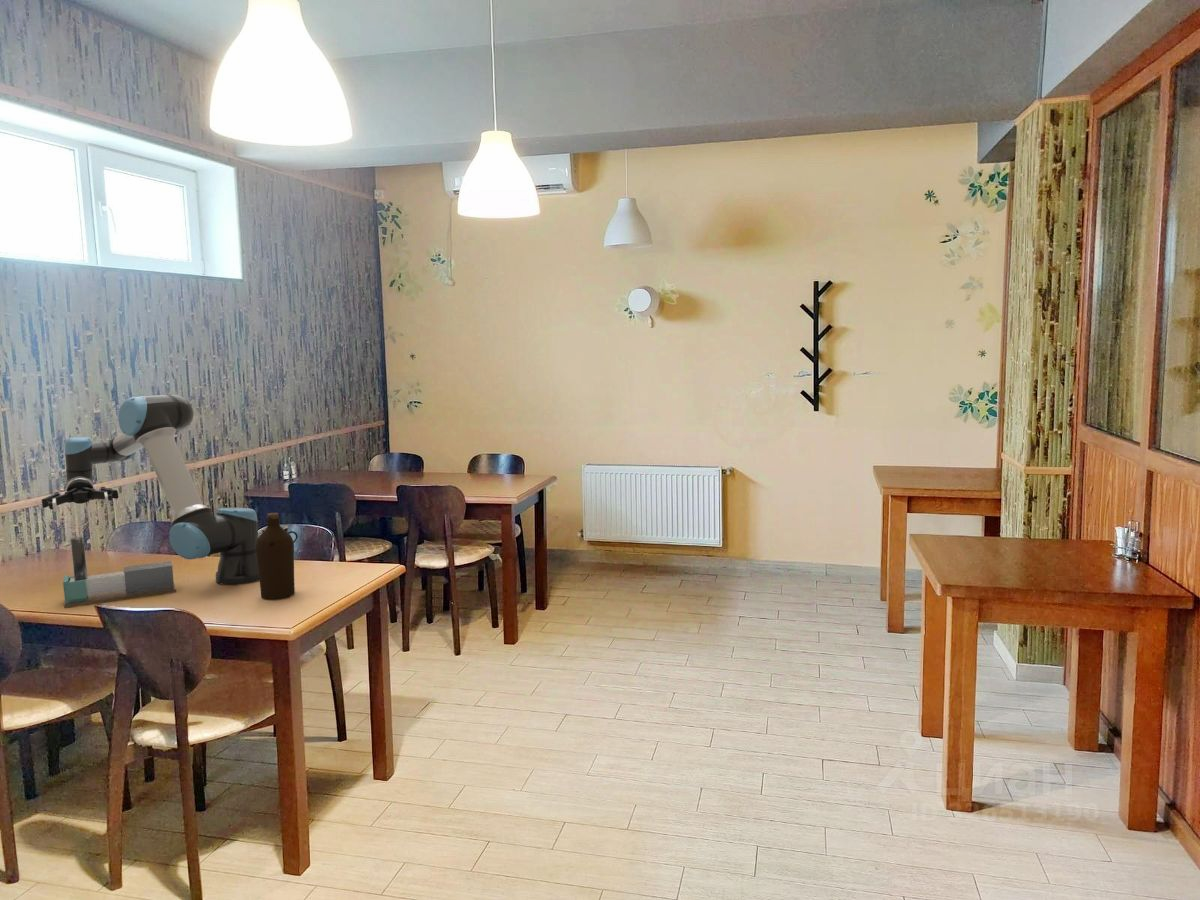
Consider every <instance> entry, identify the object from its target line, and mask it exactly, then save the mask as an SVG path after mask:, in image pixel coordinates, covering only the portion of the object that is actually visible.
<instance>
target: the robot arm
mask: <svg viewBox="0 0 1200 900" xmlns="http://www.w3.org/2000/svg"><path fill="white" fill-rule="evenodd" d="M194 415H195V414H194V409H193V406H192V404H191V403H190V402H189V401H188V400H187V398H185V397H183V396H181V395H178V394H161V395H160V394H159V395H158V394H157V395H156V394H155V395H138V396H132V397H128V398H126V399H125V400H124V401H123V402H122V403H121V405H120V407H119V410H118V415H117V422H118V426H119V429H120V431H121V432H122V433H120V434H118V435H117V436H115V437H113V438H111V439H108V440H102V441H101V440H100V441H97V440H96V441H92V439H91V438H90V437H87V436H76V437H75V436H74V437H69V438H67V439H66V440H65V441H64V442H65V443H64V456H65V466H66V469H65V478H66V481H65V482H66V484H65V485H66V486H65V487H66V491H64V493H61V492H59V491H56V492H54V493H53V494H51V495H48V496H47V497H45V498H42V499H41V504H42V505H41V507H42V508H43V509H45V508H47V507H48V508H49V510H53V512H54V513H55V512H58V506H60V505H63V504H66V503H69V504H70V503H74V504H78V505H79V504H80V505H81V504H82V505H83V504H86V503H88V502H89V501H93V500H104V501H105V505H106V506H109V505H110V504H109V502H110V501H112V500H113V499H119V497H120V496H119V492H118V489H113V488H107V487H105V486H100V487H99V488H98V489H95V487H94V475H93V473H94V472H93V471H94V470H93V465H98V464H99V465H100V464H104V463H113V462H124V461H128V460H131V459H133V458H134V457H135V454H136V453H137V452H138V451H140V450H141V449H144V451H145V452H146V455H147V457H148V459H149V462H150V463H151V466H152V469H153V470H154V472H155V475H156V477H157V479H158V483H159V484H160V487H161V489H162V490H163V493H164V495H165V498H166V500H167V502H168V505H169V507H170V509H171V512H172V514H173V518H172V520H171V525H172V526H171V527H170V530H169V532H168V533H169V543H170V545H171V548H172V549H173V551H174V552H175V553H176V554H177V555H178V556H179V557H181V558H184V559H186V560H195V559H203V558H206V557H208V556H212V555H215V554H219V561H218V566H217V571H216V572H215V582H216V583H217V584H221V585H225V586H226V585H228V586H229V585H233V586H234V585H244V584H249V583H255V582H258V581H259V582H260V579H259V571H258V563H257V555H256V542H257V539H258V537H259V526H258V524H259V523H258V522H259V520H258V516H257V512H256V510H255V509H253V508H247V507H221V508H217V509H216V515H214V512H213V511H212V508H211V507H210V506H207V505H205V504H204V503H203V501H202V499H201V496H200V494H199V492H198V489H197V487H196V486H195V485H196V484H195V483H194V481H193V479H192V476H191V474H190V472H189V470H188V467H187V464H186V462H185V461H184V458H183V456H182V453H181V452H180V449H179V447H178V444H177V442H176V439H175V437H174V436H175V434H177V433H179V432H180V431H183V430H184V429H186V428H187V427H189V426H190V425H191V424H192V422H193V419H194Z"/></svg>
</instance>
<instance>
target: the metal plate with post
mask: <svg viewBox="0 0 1200 900" xmlns="http://www.w3.org/2000/svg"><path fill="white" fill-rule="evenodd" d="M70 545H71V546H70V547H71V554H72V556H71V557H72V565H73V576H74V578H70V582H72V581H80V580H86V590H87V596H89V595H96V594H103V593H110V592H117V591H124V590H126V585H125V574H124V570H121V571H115V572H108V573H101V574H91V575H88V572H87V570H88V569H87V561H86V560H87V559H86V550H85V549H86V548H85V539H84V537H82V536H79V537H78V536H77V537H73V538H70Z"/></svg>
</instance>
